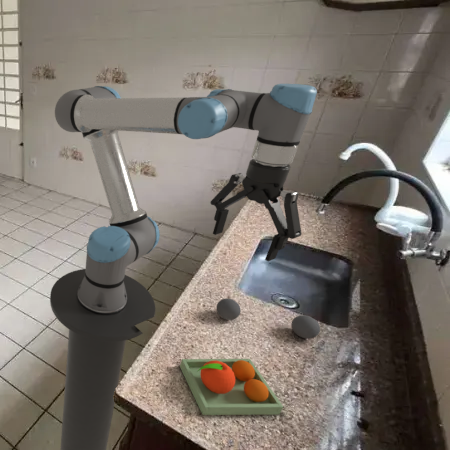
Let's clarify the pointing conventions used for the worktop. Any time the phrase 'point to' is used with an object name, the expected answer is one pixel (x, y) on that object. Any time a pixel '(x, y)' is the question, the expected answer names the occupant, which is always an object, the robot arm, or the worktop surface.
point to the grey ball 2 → (305, 326)
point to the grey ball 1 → (228, 309)
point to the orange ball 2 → (256, 390)
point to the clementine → (217, 377)
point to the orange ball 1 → (243, 370)
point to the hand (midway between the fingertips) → (242, 245)
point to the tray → (231, 401)
